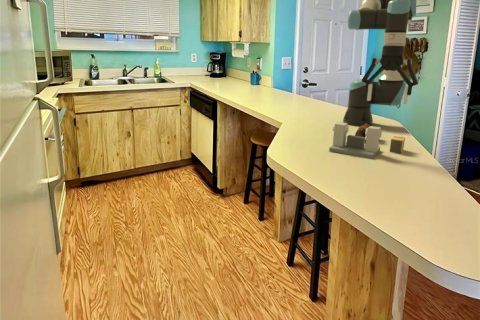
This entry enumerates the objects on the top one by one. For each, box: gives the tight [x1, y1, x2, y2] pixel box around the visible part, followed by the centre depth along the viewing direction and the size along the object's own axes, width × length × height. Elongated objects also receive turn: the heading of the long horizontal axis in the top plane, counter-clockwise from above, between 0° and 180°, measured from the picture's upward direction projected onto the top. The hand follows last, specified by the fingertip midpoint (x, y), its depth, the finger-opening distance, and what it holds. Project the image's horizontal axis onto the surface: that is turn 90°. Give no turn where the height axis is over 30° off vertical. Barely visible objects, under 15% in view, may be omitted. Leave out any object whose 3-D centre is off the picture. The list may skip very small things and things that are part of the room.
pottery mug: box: [354, 123, 371, 138], centre depth 163 cm, size 12×10×8 cm
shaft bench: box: [328, 121, 383, 159], centre depth 146 cm, size 12×18×10 cm, turn 57°
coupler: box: [389, 135, 406, 154], centre depth 147 cm, size 4×6×5 cm
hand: (386, 102), depth 142 cm, fingers open, 13 cm apart
